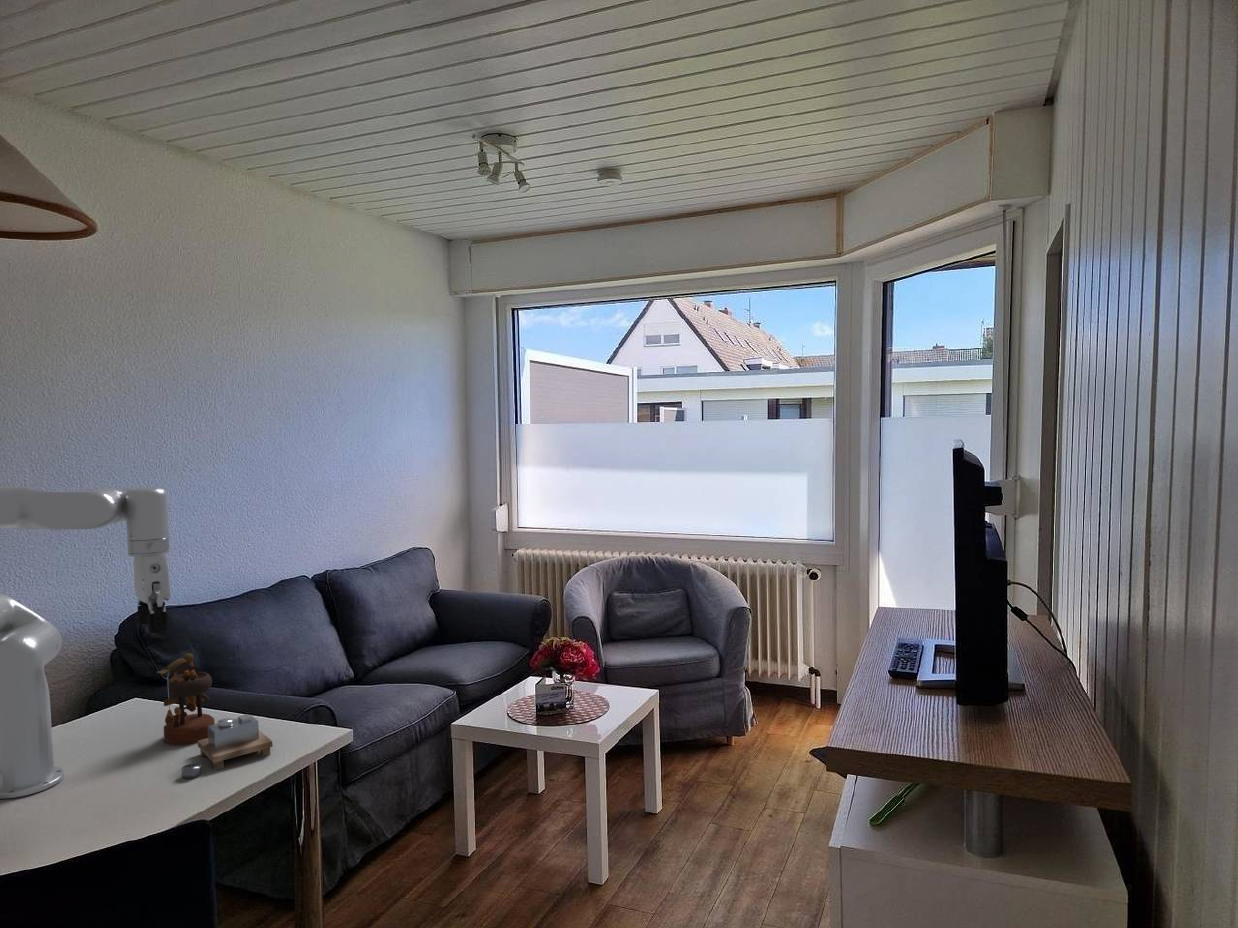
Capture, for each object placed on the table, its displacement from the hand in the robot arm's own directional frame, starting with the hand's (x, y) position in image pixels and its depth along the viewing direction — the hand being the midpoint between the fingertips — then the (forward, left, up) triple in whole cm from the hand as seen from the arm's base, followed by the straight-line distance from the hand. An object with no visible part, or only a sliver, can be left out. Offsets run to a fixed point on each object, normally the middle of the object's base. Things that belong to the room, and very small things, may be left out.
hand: (152, 627), depth 169 cm
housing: (+14, -4, -27) cm, 31 cm away
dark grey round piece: (+4, -9, -30) cm, 32 cm away
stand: (+14, -4, -30) cm, 34 cm away
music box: (+10, +15, -31) cm, 35 cm away
